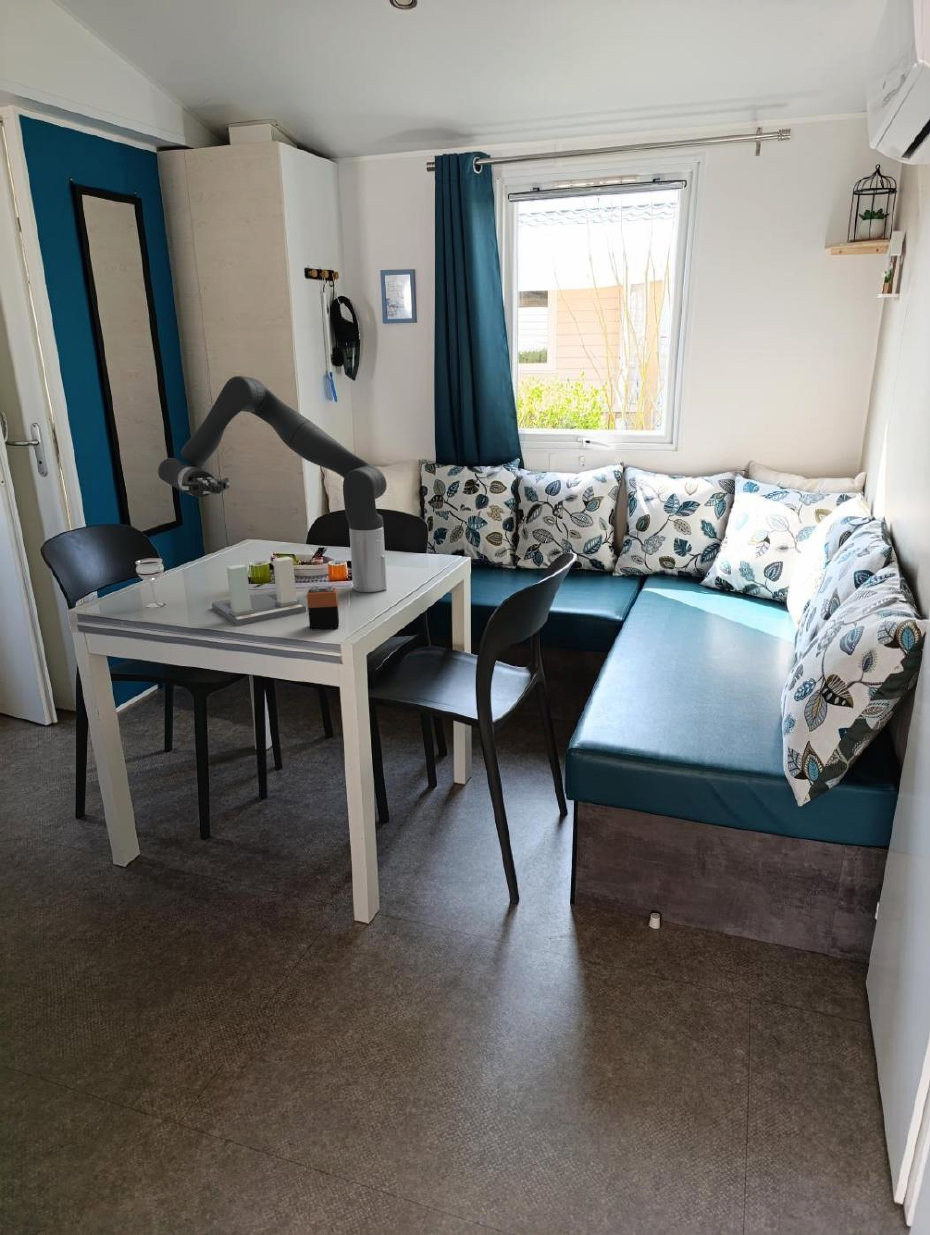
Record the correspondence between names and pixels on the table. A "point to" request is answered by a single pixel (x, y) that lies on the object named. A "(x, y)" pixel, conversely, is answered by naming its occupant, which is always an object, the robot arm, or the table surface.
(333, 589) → the battery
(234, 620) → the grey square tray
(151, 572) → the wineglass
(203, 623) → the table surface
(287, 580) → the cream tab
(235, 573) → the sage tab
